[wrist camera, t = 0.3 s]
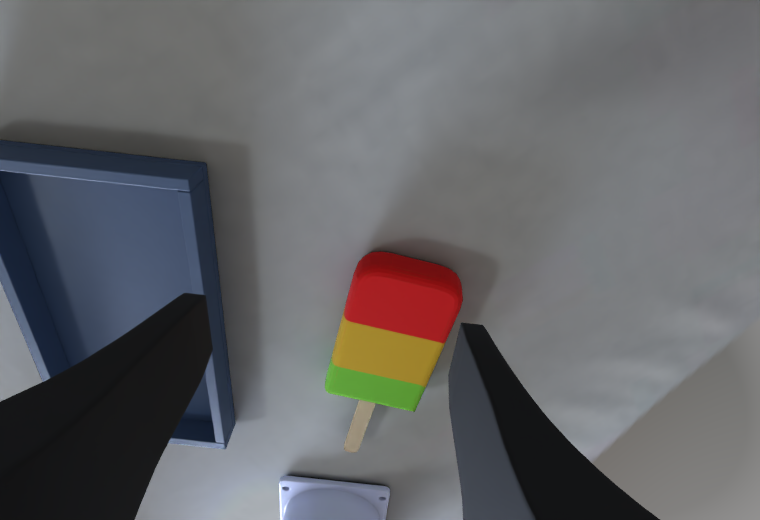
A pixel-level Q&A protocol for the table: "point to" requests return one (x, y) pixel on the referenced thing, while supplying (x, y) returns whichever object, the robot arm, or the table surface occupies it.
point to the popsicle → (391, 334)
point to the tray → (110, 260)
